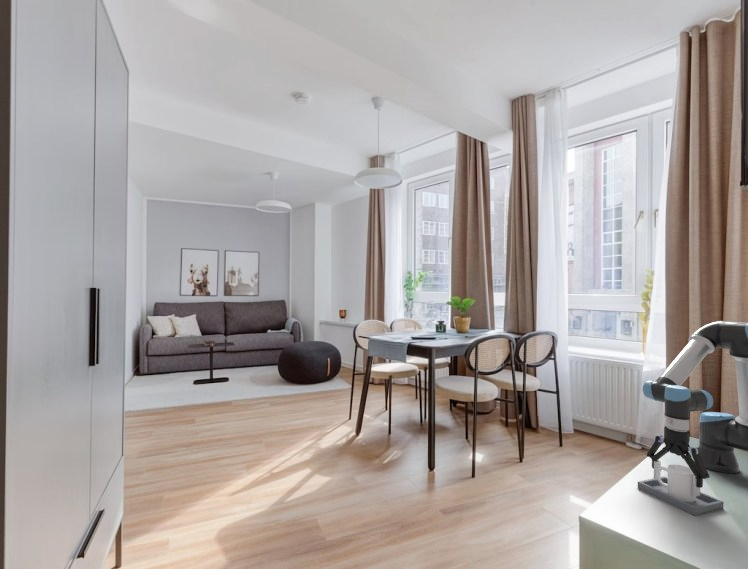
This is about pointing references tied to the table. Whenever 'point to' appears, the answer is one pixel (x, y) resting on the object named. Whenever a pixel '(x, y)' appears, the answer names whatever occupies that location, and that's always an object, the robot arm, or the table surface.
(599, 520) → the table surface
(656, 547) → the table surface
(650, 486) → the grey tray
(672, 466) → the cup
